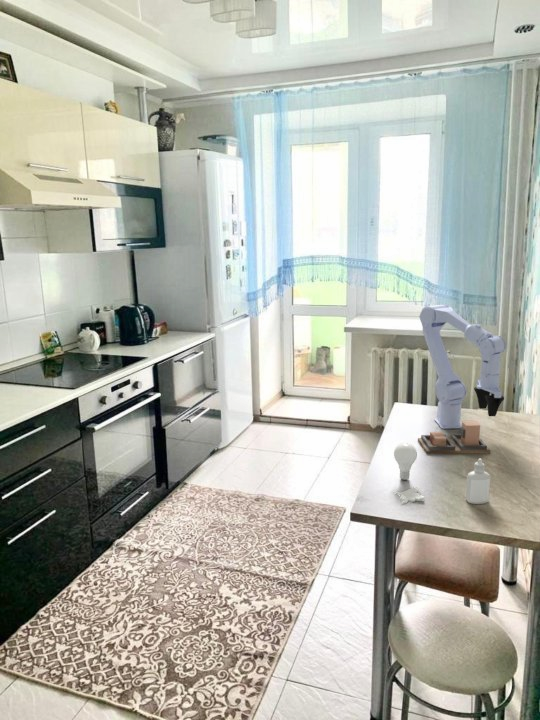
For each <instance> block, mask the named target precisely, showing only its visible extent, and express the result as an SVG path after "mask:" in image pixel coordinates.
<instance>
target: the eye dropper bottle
mask: <svg viewBox="0 0 540 720" xmlns="http://www.w3.org/2000/svg"><path fill="white" fill-rule="evenodd" d="M485 466H486V465H485V463H484V462H483V461H482V458H478V460H477V461H476V462H474V467H473V470H471V471H470V472H468V474H467V476H466V486H465V487H466V489H465V501H467V503H469V504H473V505H474V504H475V505H482V504H487V503H488V502H489V500H490V490H491V489H490V487H491V475H490V474H489V473H488V472H487V471H485Z"/></svg>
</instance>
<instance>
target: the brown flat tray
mask: <svg viewBox="0 0 540 720" xmlns="http://www.w3.org/2000/svg"><path fill="white" fill-rule="evenodd" d="M417 442H418V443H419V445H420V446H421V448H422V449H423V451H424V452H425V454H426V455H451V454H452V455H453V454H462V455H463V454H464V455H465V454H490V453H491V449H490V448H489V447H488V445H486V443H485V442H484V441H483V440H482V439H481V438H480V437H479V445H464V444H463V443H462V442H461V435H460V433H459V434H458V433H457V434H450V437H448V436H447V434H444V433H443V432H442V431H430V432H429V434H422V435H421V436H420V437H418V438H417Z"/></svg>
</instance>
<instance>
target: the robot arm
mask: <svg viewBox="0 0 540 720" xmlns="http://www.w3.org/2000/svg"><path fill="white" fill-rule="evenodd" d="M418 317H419V321H420V323H421V327H422V334H423V336H424V340H425V344H426V346H427V349H428V352H429V354H430V357H431V360H432V363H433V366H434V369H435V371H436V374H437V377H438V378H437V380H436V381H435V384H434V387H435V395H436V399H437V400H438V403H437V413H436V414H437V416H436V417H435V418H434V421H435V422H436V424H437V425H438V426H439V428H441V429H443V430H444V429H447V430H448V429H460V428H461V427H462V422H461V415H462V403H463V401H464V400H463V399H464V398H466V396H467V394H468V393H467V391H468V390H467V389H468V388H467V387H466V385H465V384H464V383H463V381H462V378H461V377H460V375H457V374H456V373H454V369H453V367H452V365H451V364H452V363H451V362H450V359H449V356H448V353H447V350H446V347H445V344H444V343H443V342H444V341H443V339H442V336H441V333H440V332H441V330H442V329H443V327H444V326H445V325H446V324H448V325H451V326H452V327H454V328H455V329H457V330H458V331H461V332H462V333H463V335H464V338H465V339H466V340H468V341H469V342H471V343H472V344H473V345H474V346H476V347H478V350H479V352H480V358H481V364H480V366H481V367H480V379H477V384H476V386H475V387H473V390H474V391H475V395H476V398H477V402H478V409H480V410H481V409H484V410H485V409H487V414H488V417H496V415H497V412H498V410H499V408H500V406H501V404H502V402H503V401H504V400H505V397H504V396H503V395H502V393H503V392H502V391H501V389H500V386H499V384H500V375H501V374H500V373H501V363H502V361H501V360H502V359H501V358H502V353H503V352H504V351H505V349H506V346H507V344H506V341H505V339H504V338H503V337H502V336H501V335H493V333H492V332H490V331H489V332H488V330H486V329H484V328H483V327H482V325H481V324H480V323H478V324H476V323H473V324H471V323H469V322H468V321H466V319H464V318H463V317H461V316H460V314H458V313H457V312H455V311H454V308H453V307H452V306H449V305H448V304H446V303H442V304H437V305H431V306H430V305H429V306H428V305H425V306H424V307H423V308H422V309H421V311H420V314H419V316H418Z"/></svg>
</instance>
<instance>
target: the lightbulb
mask: <svg viewBox="0 0 540 720" xmlns="http://www.w3.org/2000/svg"><path fill="white" fill-rule="evenodd" d="M417 457H418V452H417V450H416V448H415V447H414V446H413V444H411V443H408V442H403V443H399V444H398V445H396V447H395V448H394V451H393V458H394V459H395V461H396V463H397V464H398V468H399V478H400V479H401V480H403V481H407V480H409V479H410V471H411V470H412V466H413V464H414V463H416V461H417V459H418V458H417Z"/></svg>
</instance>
